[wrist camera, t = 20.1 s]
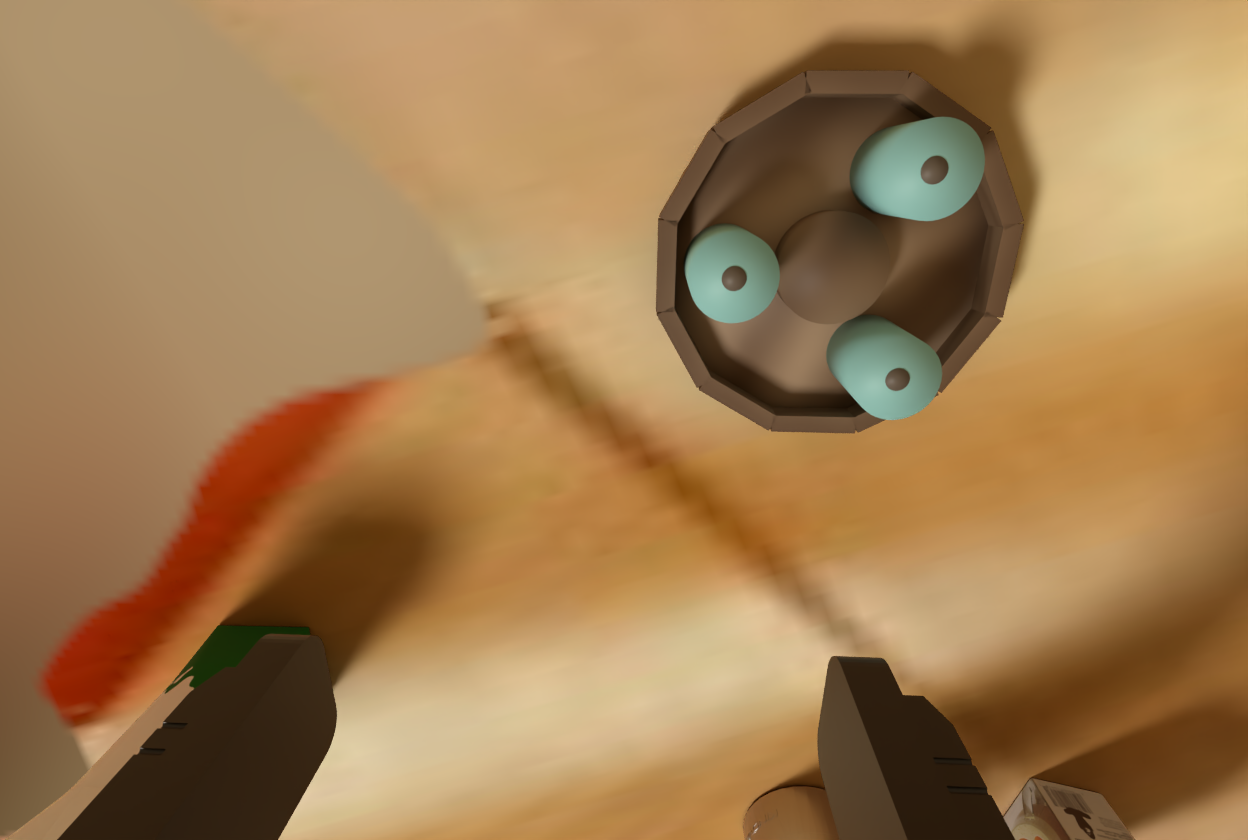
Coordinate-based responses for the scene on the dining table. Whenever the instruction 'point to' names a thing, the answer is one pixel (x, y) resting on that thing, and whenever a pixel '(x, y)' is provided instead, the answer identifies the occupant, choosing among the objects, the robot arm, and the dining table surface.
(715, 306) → the bead
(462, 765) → the dining table surface
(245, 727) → the robot arm
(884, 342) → the bead
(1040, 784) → the coffee box
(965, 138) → the bead
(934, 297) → the ring tray
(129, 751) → the milk carton
